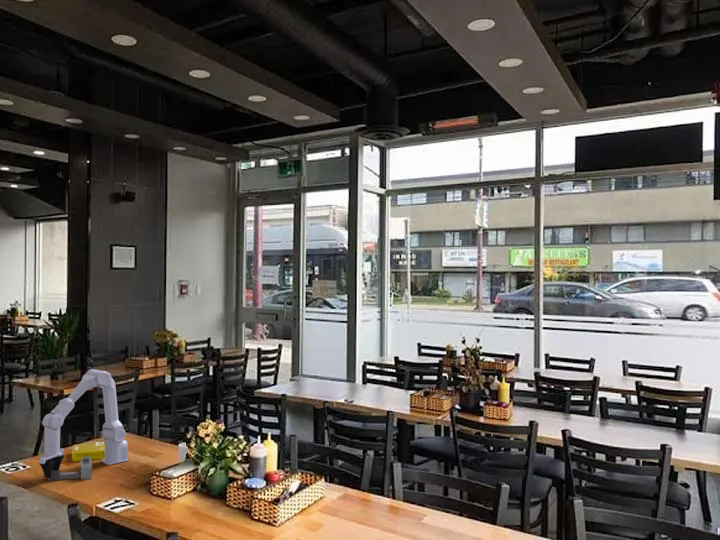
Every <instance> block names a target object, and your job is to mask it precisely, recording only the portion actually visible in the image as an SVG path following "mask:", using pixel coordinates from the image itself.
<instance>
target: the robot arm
mask: <svg viewBox="0 0 720 540" xmlns="http://www.w3.org/2000/svg"><path fill="white" fill-rule="evenodd" d="M98 387H99V388H101V389H102V398H103V410H104V418H105V419H104V421H105V422H103V425H102V431H101V438H102V439H104V440H103V442H105V458H104V459H100V462H102V463H104V464H105V465H107V466H110V465H114V464H118V463H119V464H120V463H123V462H128V461H129V459H128V457H129V445H128V442H127V440H125V439H126V430H125V429H124V425H123V424H122V423H121V422H122V421H120V420H119V411H118V409H119V408H118V399H117V389H116V382H115V380H114V379H113V377H112V373H110V372H108V371H105V370H99V369H94V368H91V369H89V370H87V371H86V373H84V375H82V378H81V381H80V382H79V383H78V384H77V385H76V387H75V388H74V389H73V391H71V393H70V394H69V395H68V397H65V398H63V399H60V400H59V401H58V404H57V405H56V406H55V407H54V408H53V409H52V410H51V411H50V413H47V414H45V416H44V417H43V419H42V421H41V424H42V426H43V427H44V446H43V447H44V449H43V450H44V452H43V454H42V456H41V457H40V458H39V460H38V461H39V463H38V464H39V466H40V468H41V469H42V472H43V475H44V478H45V479H48V478H51V474H52V470H60V467H61V465H62V461H63V460H64V458H65V455H64V454H65V448H61V427H62V426H63V425H64V421H65V419H66V417H67V416H68V415H69V414H70V412H72V410H73V409H74V408H75V402H77V400H79V399H80V398H81V396H83V394H84V393H85V392H86V391H87V390H89V389H93V388H98Z"/></svg>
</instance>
